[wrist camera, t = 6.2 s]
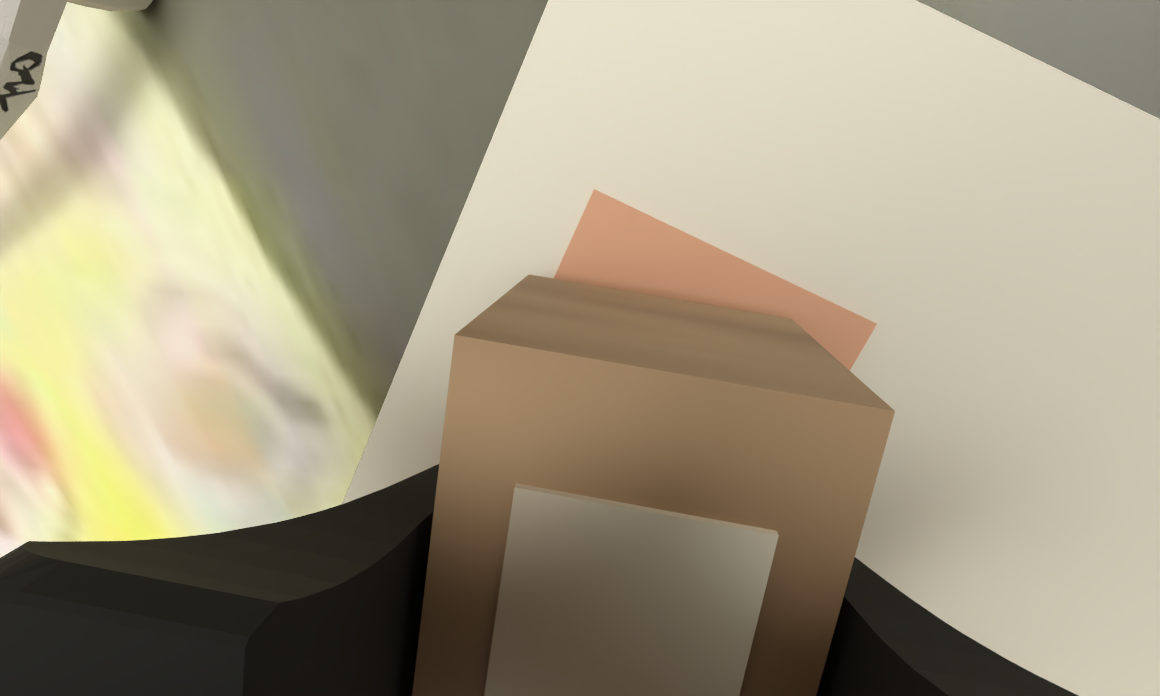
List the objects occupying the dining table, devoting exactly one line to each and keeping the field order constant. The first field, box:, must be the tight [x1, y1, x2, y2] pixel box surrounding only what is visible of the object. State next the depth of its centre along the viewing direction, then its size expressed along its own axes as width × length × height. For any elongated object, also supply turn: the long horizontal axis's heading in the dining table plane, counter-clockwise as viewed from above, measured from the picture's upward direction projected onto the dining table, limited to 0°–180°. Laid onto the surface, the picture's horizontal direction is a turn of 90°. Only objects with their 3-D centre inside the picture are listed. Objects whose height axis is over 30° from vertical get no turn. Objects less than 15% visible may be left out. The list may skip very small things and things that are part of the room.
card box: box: [412, 274, 895, 696], centre depth 10 cm, size 8×4×5 cm, turn 171°
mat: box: [343, 0, 1160, 696], centre depth 14 cm, size 17×15×1 cm
